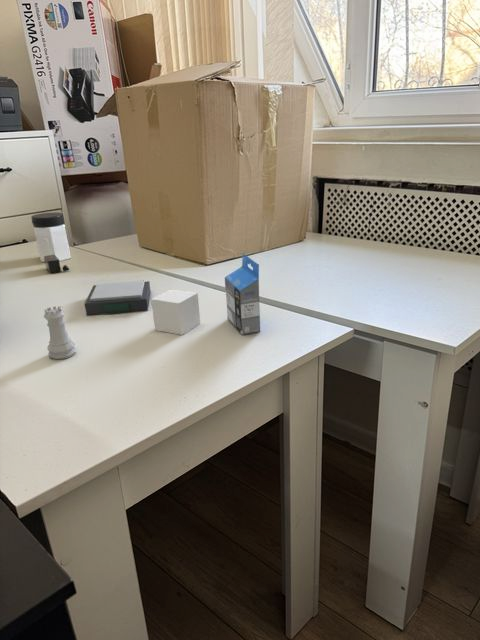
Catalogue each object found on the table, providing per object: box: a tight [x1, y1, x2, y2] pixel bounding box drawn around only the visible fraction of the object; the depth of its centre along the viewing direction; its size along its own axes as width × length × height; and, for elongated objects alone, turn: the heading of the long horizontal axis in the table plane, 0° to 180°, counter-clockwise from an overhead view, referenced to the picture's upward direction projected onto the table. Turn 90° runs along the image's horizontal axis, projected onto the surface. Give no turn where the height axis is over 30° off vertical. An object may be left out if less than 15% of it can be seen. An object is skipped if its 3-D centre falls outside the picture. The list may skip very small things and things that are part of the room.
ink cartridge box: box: [224, 252, 261, 336], centre depth 91 cm, size 9×4×12 cm, turn 21°
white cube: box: [150, 288, 201, 336], centre depth 93 cm, size 6×6×6 cm
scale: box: [84, 280, 152, 316], centre depth 106 cm, size 12×12×3 cm
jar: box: [31, 212, 72, 263], centre depth 140 cm, size 9×8×12 cm
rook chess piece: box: [43, 305, 77, 360], centre depth 83 cm, size 4×4×8 cm
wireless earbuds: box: [44, 255, 70, 274], centre depth 131 cm, size 5×7×3 cm, turn 31°
